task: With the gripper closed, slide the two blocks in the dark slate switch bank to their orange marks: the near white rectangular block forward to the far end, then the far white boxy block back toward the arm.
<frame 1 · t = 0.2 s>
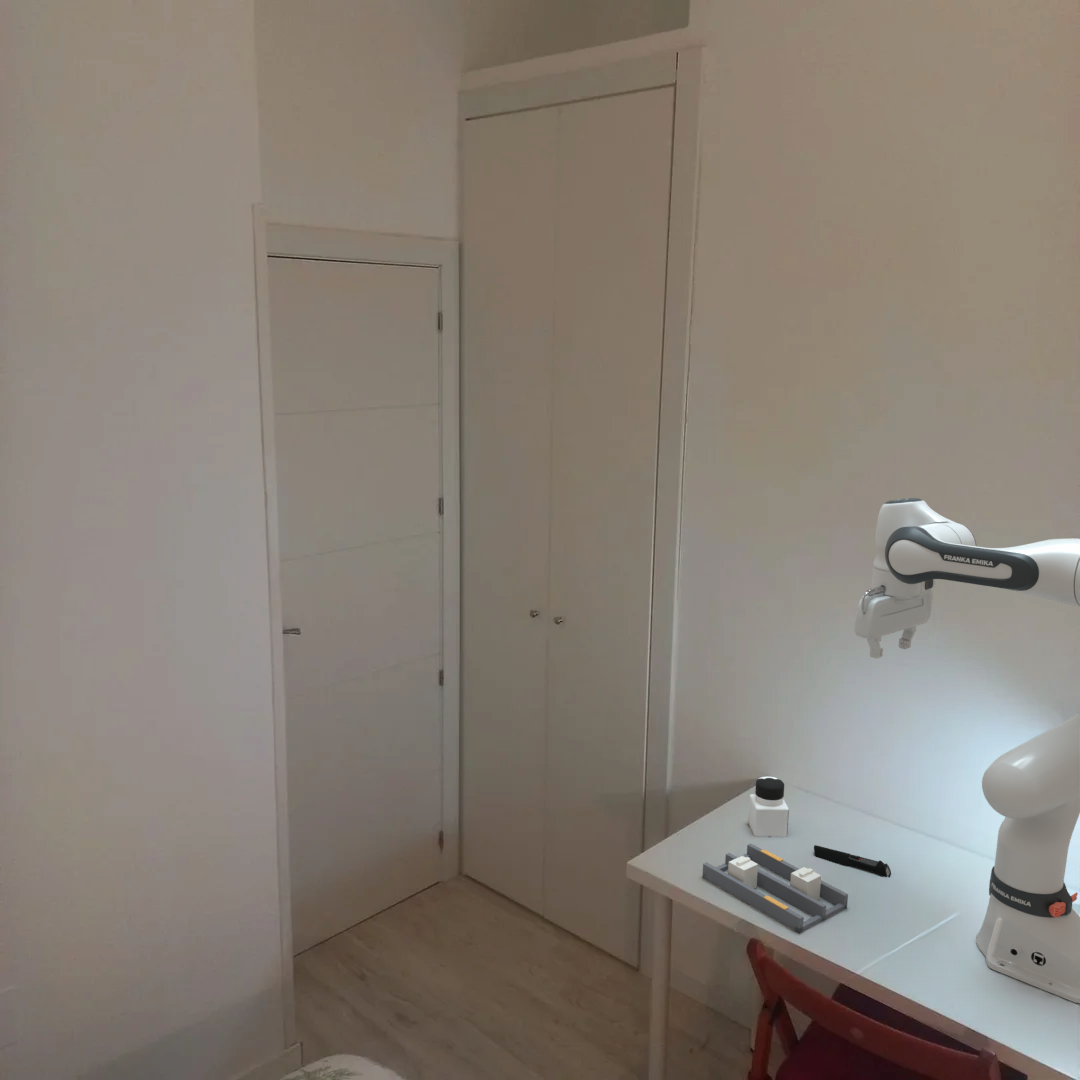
hand: (890, 652, 197), 47 cm above the table, fingers open, 8 cm apart
electric trimmer: (852, 869, 211), on the table
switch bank: (772, 895, 200), on the table
white rectangular block 1: (805, 884, 197), point 4 cm above the table, slide at -5.0 cm
white boxy block 2: (742, 873, 201), point 4 cm above the table, slide at 5.0 cm
medicine bottle: (767, 832, 225), on the table
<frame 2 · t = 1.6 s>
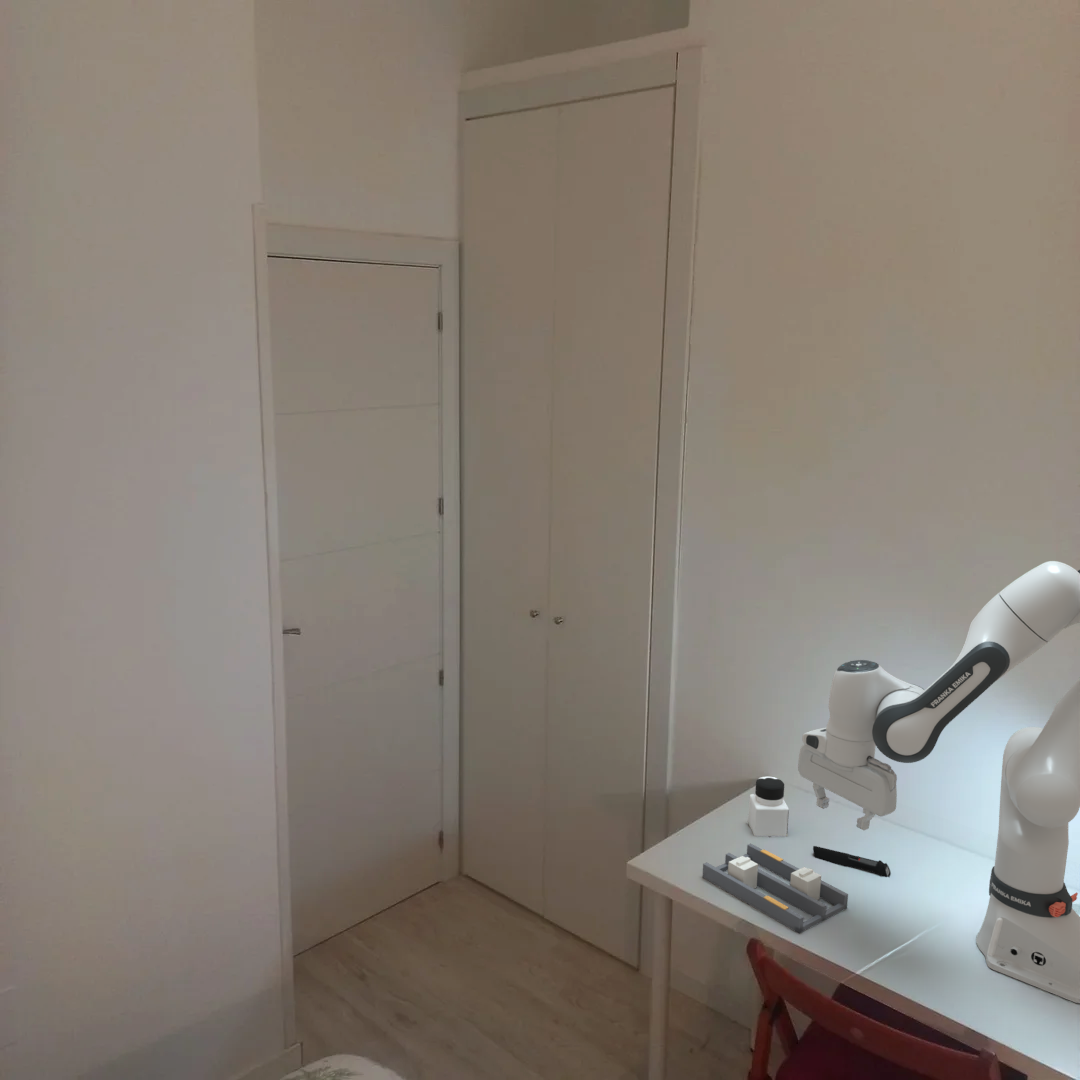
hand: (842, 817, 190), 20 cm above the table, fingers open, 8 cm apart
nothing on the table moved.
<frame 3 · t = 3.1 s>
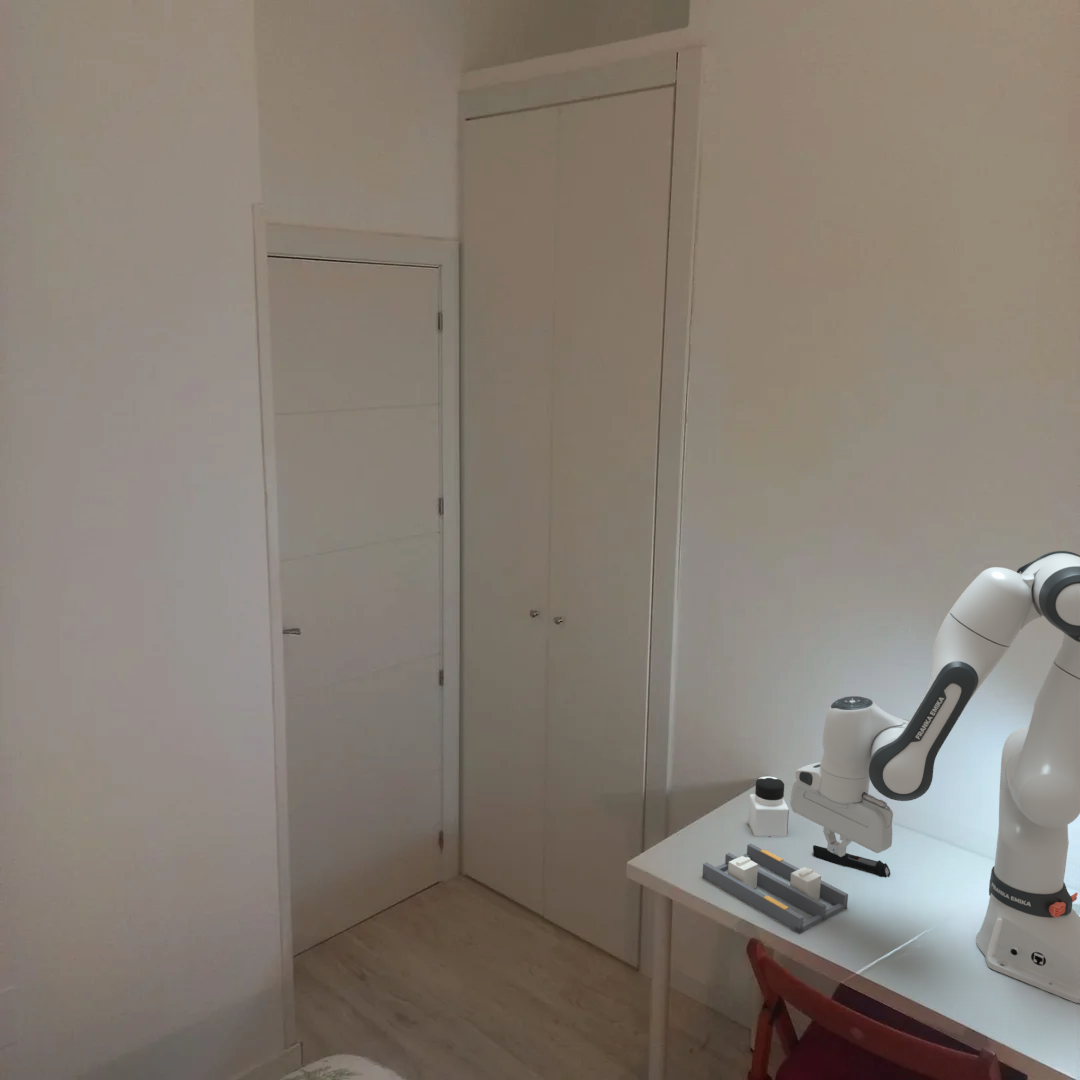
hand: (836, 852, 190), 13 cm above the table, fingers closed
nothing on the table moved.
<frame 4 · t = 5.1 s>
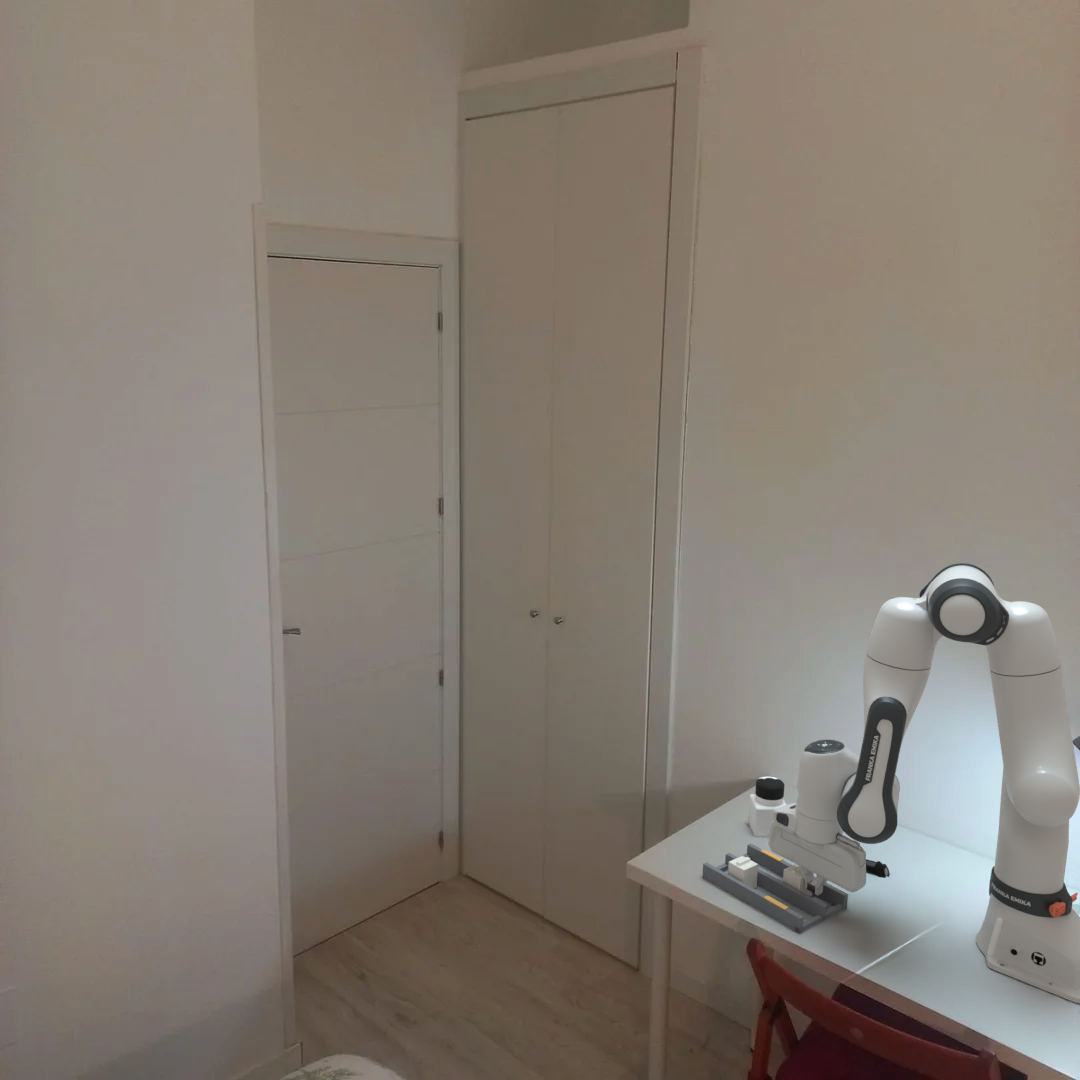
hand: (813, 891, 195), 3 cm above the table, fingers closed
white rectangular block 1: (798, 880, 198), point 3 cm above the table, slide at -3.2 cm, touching gripper
everything else where it was.
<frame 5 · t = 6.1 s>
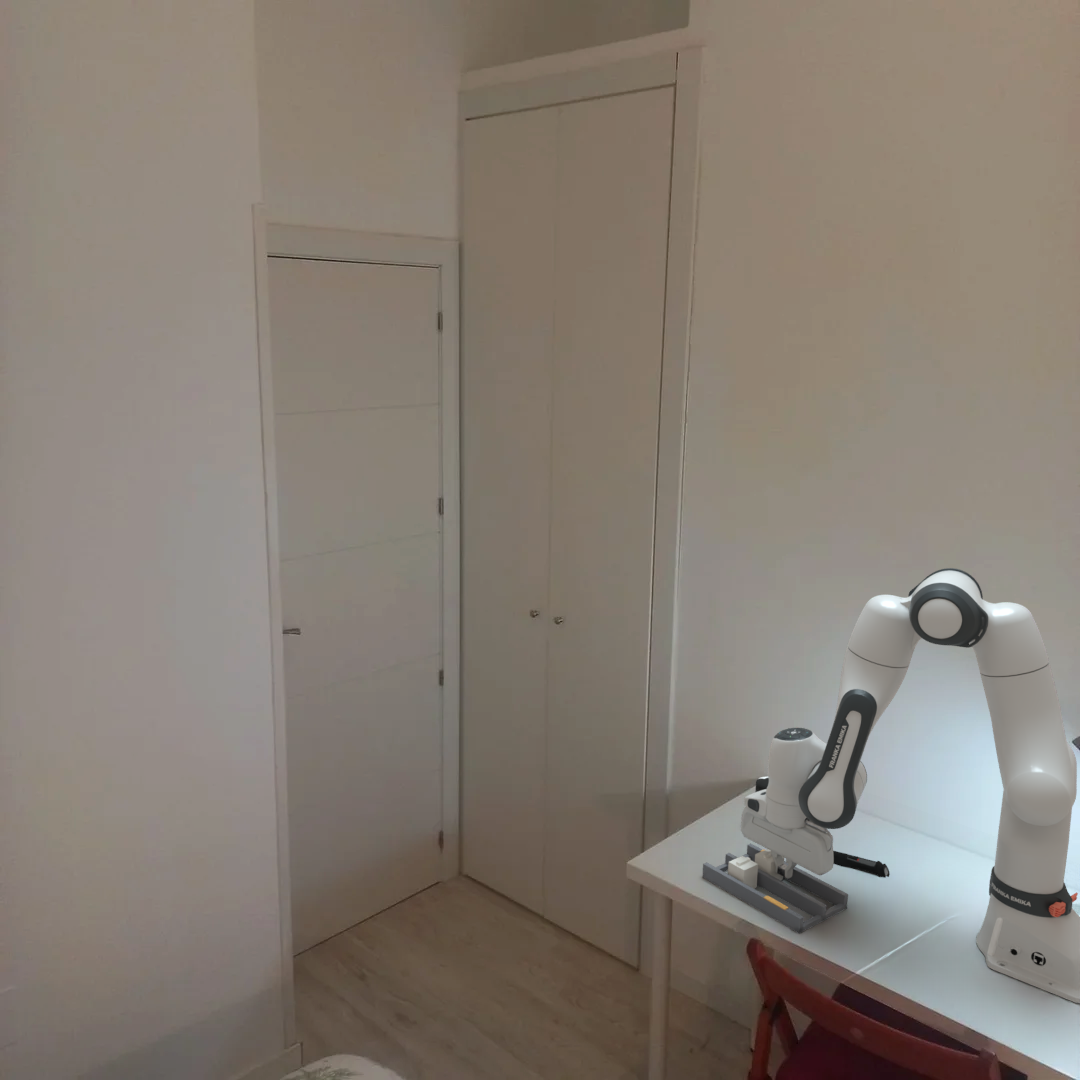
hand: (783, 875, 201), 3 cm above the table, fingers closed
white rectangular block 1: (769, 865, 204), point 4 cm above the table, slide at 3.9 cm, touching gripper
everything else where it was.
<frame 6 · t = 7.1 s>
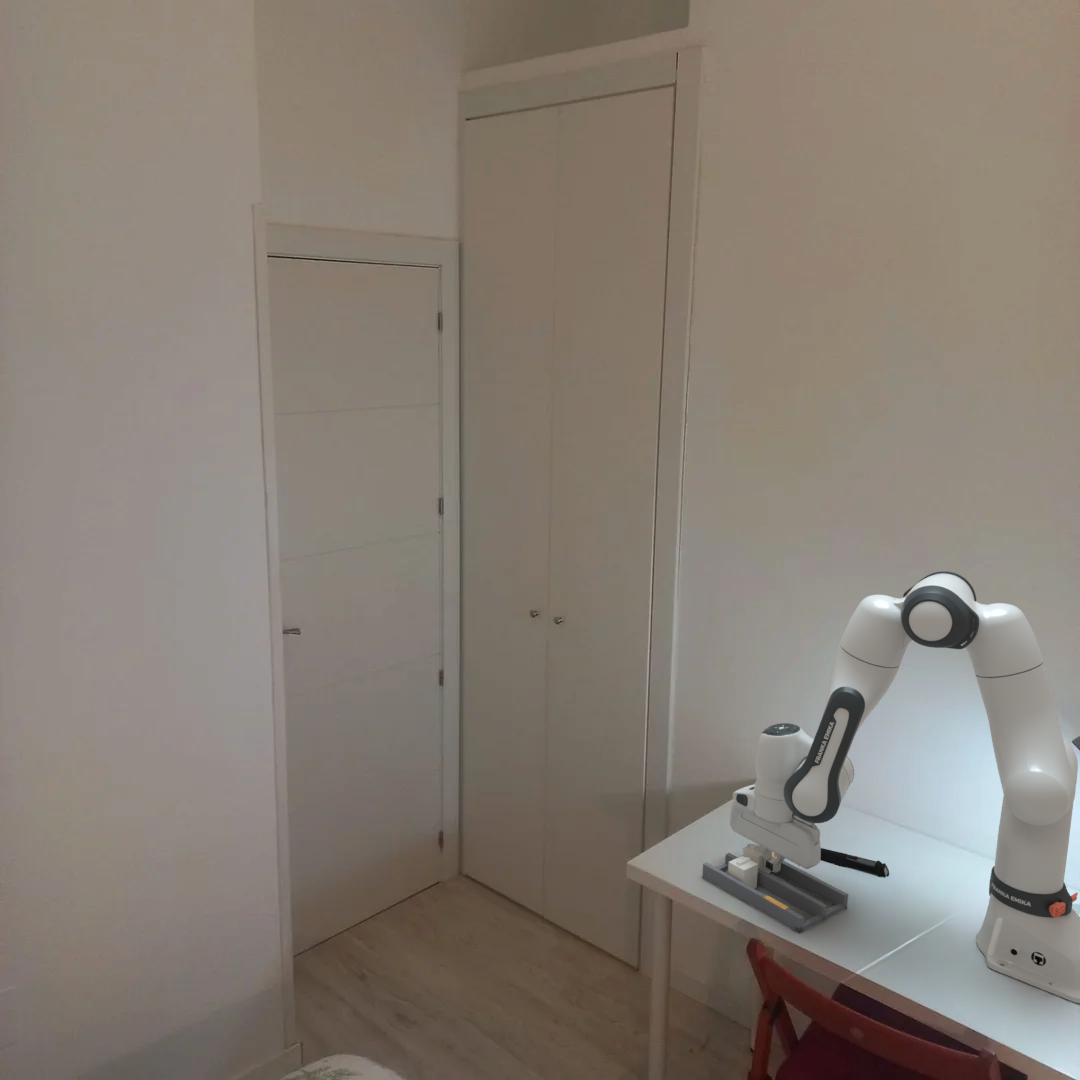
hand: (772, 869, 203), 3 cm above the table, fingers closed
white rectangular block 1: (757, 859, 206), point 4 cm above the table, slide at 7.0 cm, touching gripper
everything else where it was.
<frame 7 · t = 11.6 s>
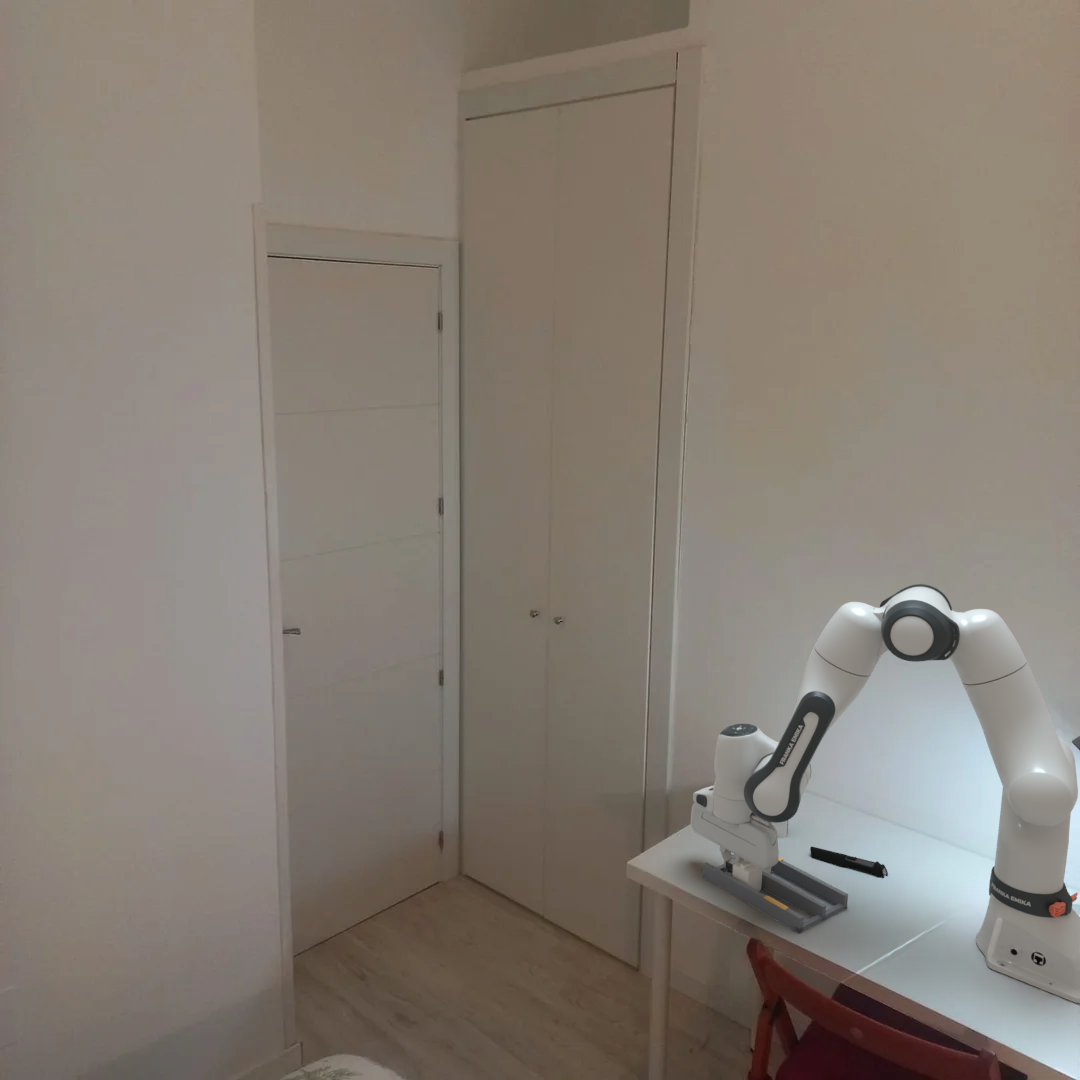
hand: (732, 869, 203), 3 cm above the table, fingers closed
white rectangular block 1: (757, 859, 206), point 4 cm above the table, slide at 7.0 cm
white boxy block 2: (747, 875, 200), point 3 cm above the table, slide at 3.8 cm, touching gripper
everything else where it was.
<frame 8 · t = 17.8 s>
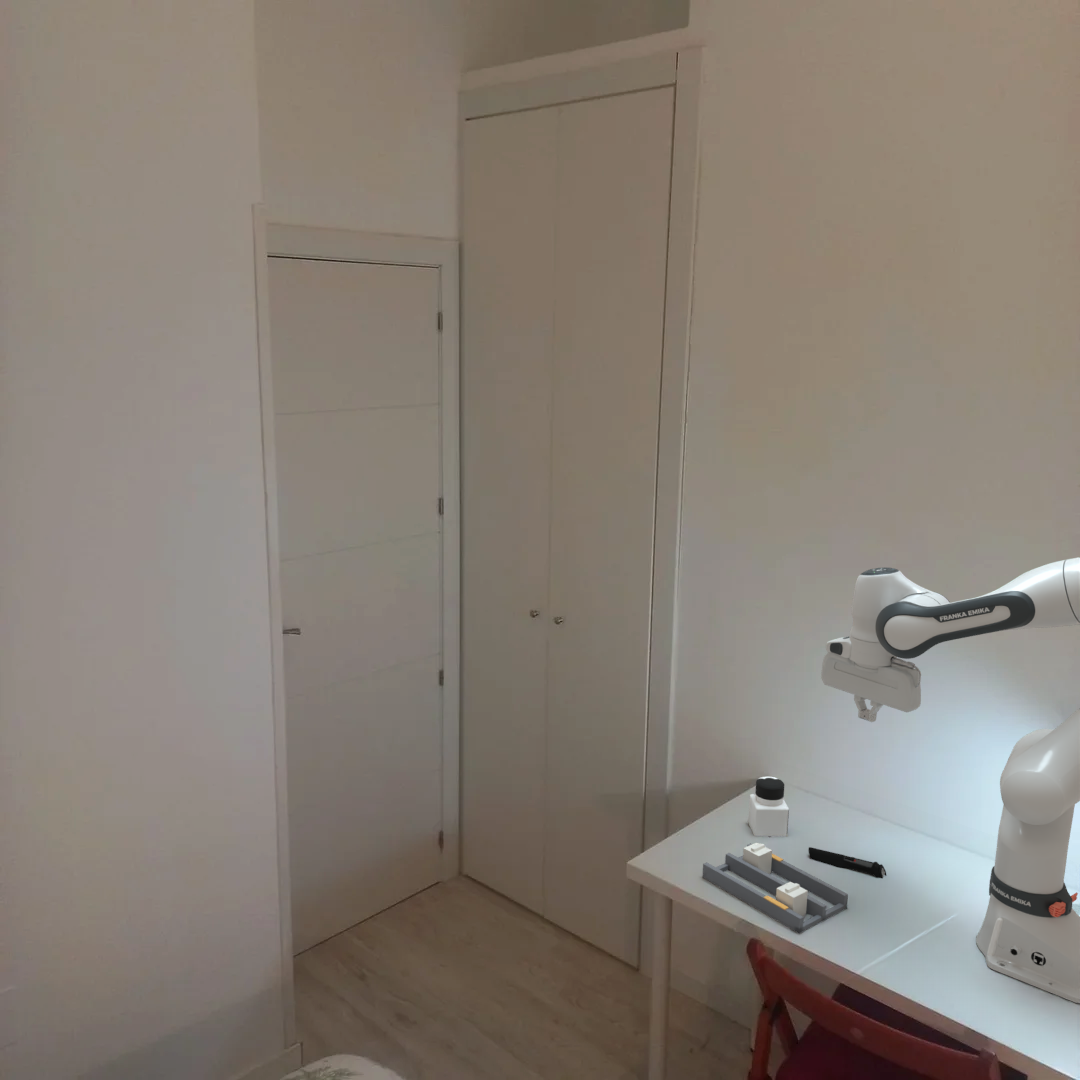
hand: (866, 719, 198), 34 cm above the table, fingers closed
white boxy block 2: (791, 900, 192), point 4 cm above the table, slide at -6.9 cm
at the end: white rectangular block 1 slide at 7.0 cm; white boxy block 2 slide at -6.9 cm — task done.
